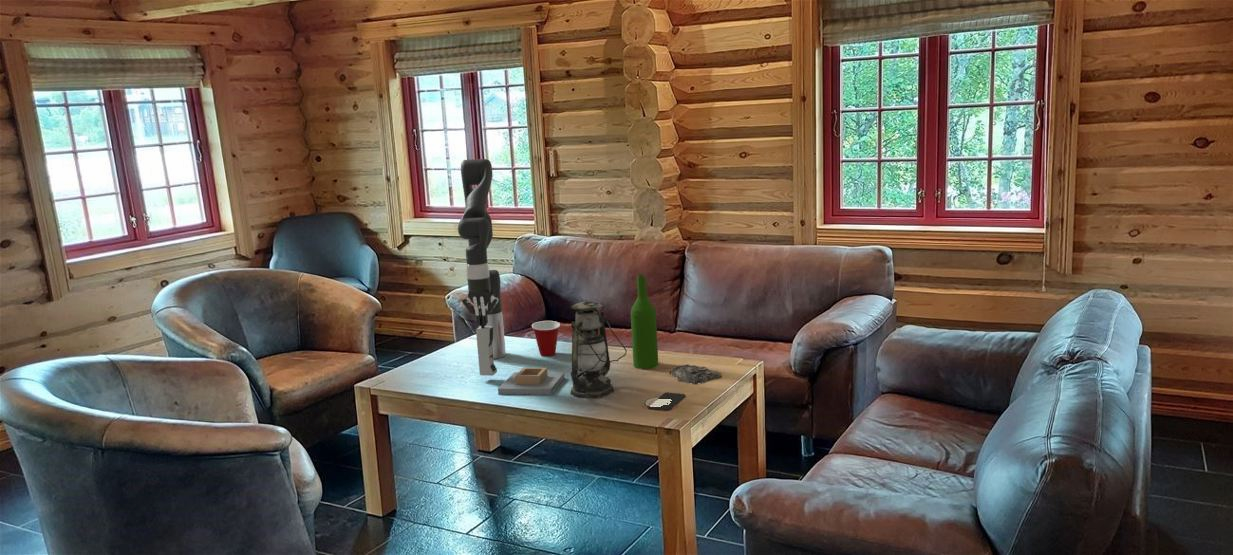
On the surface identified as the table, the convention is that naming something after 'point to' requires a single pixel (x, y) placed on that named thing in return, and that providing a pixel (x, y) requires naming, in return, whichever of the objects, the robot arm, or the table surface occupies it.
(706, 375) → the geode
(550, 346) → the plastic cup
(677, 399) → the phone
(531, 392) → the square socket base
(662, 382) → the table surface
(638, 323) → the wine bottle
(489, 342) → the vintage mobile phone
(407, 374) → the table surface
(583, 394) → the lantern
